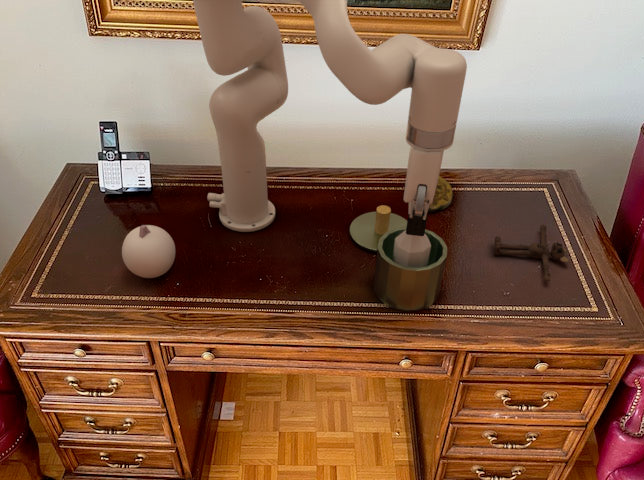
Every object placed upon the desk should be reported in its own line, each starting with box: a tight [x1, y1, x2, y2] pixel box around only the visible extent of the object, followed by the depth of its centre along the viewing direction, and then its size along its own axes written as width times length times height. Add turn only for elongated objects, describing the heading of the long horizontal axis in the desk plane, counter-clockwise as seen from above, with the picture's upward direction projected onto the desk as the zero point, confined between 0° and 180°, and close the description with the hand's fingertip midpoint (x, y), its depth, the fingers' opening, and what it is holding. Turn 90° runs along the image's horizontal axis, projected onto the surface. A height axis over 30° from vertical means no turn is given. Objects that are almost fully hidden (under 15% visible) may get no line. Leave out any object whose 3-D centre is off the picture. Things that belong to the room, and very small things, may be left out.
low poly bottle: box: [393, 196, 431, 268], centre depth 116 cm, size 6×6×22 cm
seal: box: [427, 175, 454, 213], centre depth 145 cm, size 9×5×15 cm
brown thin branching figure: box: [493, 224, 570, 282], centre depth 129 cm, size 18×4×14 cm
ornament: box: [121, 224, 176, 279], centre depth 125 cm, size 10×10×12 cm
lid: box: [349, 204, 408, 253], centre depth 134 cm, size 14×14×7 cm
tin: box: [373, 227, 448, 312], centre depth 120 cm, size 13×13×10 cm
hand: (416, 221), depth 112 cm, fingers open, 6 cm apart
